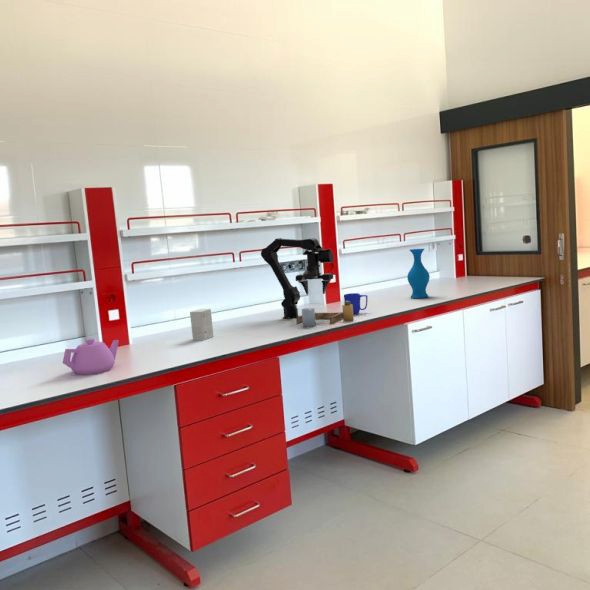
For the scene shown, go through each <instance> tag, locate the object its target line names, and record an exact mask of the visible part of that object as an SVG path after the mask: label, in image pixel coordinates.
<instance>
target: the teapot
mask: <svg viewBox="0 0 590 590" xmlns="http://www.w3.org/2000/svg"><path fill="white" fill-rule="evenodd" d="M119 342H120V341H119V339H115V340H112V343H111V345H110V347H109V346H107V345H106V343H105V342H104V341H95V338H88V339H85V343H80V344H78V345H77V346H76V348H65V350H64V353H63V354H64V355H63V358H62V364H63V365H65V366H66V367H68V368H69V369H71V371H73V373H74V374H75V375H79V376H88V375H90V376H91V375H96V374H102V373H105V372H107V371H110V370H112V368H113V367H114V365H115V360H116V356H117V351H118V347H119Z"/></svg>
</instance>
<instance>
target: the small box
mask: <svg viewBox="0 0 590 590" xmlns="http://www.w3.org/2000/svg"><path fill="white" fill-rule="evenodd" d="M189 315H190V316H189V317H190V323H191V324H190V325H191V326H190V327H191V333H192V340H193V341H206V340H208V339H211V338H213V337H214V329H213V318H212V309H211V308H198V309H195V310H191V311H190V312H189Z"/></svg>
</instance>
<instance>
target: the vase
mask: <svg viewBox="0 0 590 590" xmlns="http://www.w3.org/2000/svg"><path fill="white" fill-rule="evenodd" d="M424 251H425V248H413V249H409V252H410V253H411V254H412V256H413V264H412V266H411V268H410V270H409V271H408V273H407V281H408V283H409V286H410V287H411V289H412V293H411V295H410V298H411V299H426V298H428V297H429V295H428V293H427V286H428V285H429V282H430V278H431V277H430V273H429V271H428V270H427V268H425V266H424V264H423V262H422V254H423V252H424Z"/></svg>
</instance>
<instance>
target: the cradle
mask: <svg viewBox="0 0 590 590" xmlns="http://www.w3.org/2000/svg"><path fill="white" fill-rule="evenodd" d="M295 319H296V324H298V325H300V324H303V321H302V314H301V315H299V316H298V317H296V318H295ZM315 320H329V325H330V324H335V323H337V322H339V321H341V320H343V311H342V312H315Z"/></svg>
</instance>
